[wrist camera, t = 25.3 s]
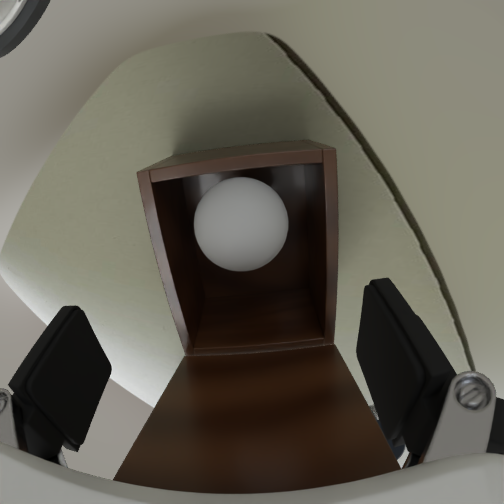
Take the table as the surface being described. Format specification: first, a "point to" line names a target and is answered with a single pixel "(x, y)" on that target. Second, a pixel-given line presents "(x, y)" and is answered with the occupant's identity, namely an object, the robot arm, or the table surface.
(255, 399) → the lid
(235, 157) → the chest
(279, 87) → the table surface
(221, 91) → the table surface
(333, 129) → the table surface
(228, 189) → the lightbulb
